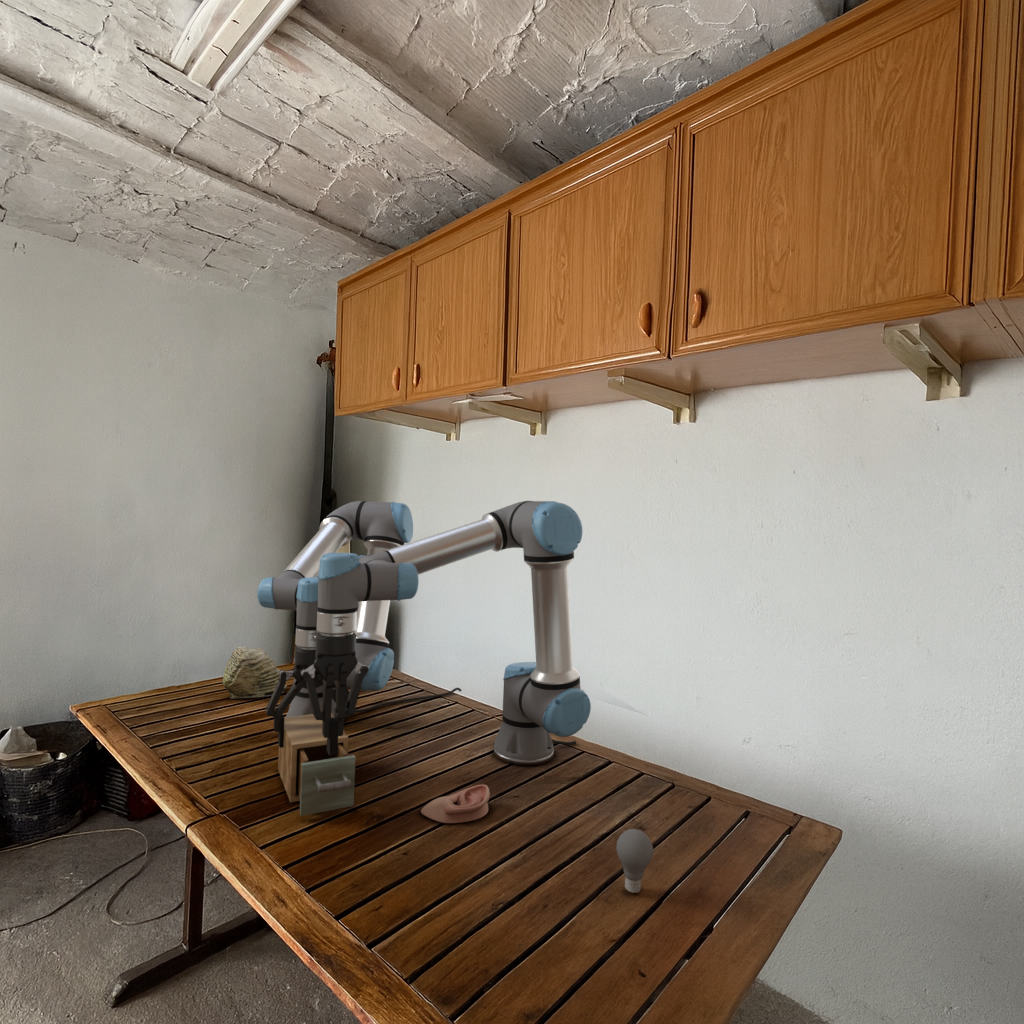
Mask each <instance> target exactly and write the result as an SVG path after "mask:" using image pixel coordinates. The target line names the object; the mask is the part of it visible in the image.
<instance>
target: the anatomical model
mask: <svg viewBox="0 0 1024 1024" xmlns="http://www.w3.org/2000/svg"><path fill="white" fill-rule="evenodd" d="M490 795H491V792H490V788H489V786H488V785H487V784H477V785H473V786H470V787H468V788H464V789H462V790H460V791H457V792H455V793H452V794H450V795H445V796H440V797H437V798H435V799H433V800H431V801H430V802H428V803H426V804H425V805H424V806H423V807H422V808H421V809H420V813H421V814H422V815H423V816H425V817H426V818H428V819H430V820H433V821H435V822H439V823H441V824H458V823H459V824H460V823H467V822H471V821H476V820H478V819H482V818H483V817H485V816H486V815H487V814H488V813H489V804H488V802H489V800H490V797H491V796H490Z"/></svg>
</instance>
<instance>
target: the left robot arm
mask: <svg viewBox="0 0 1024 1024" xmlns="http://www.w3.org/2000/svg"><path fill="white" fill-rule="evenodd" d="M413 521H414V519H413V516H412V512H411V509H410V507H409V506H408V505H407V504H405V503H402V502H395V501H371V500H370V501H369V500H367V501H366V500H355V501H351V502H348V503H345V504H343V505H342V506H340V507H338V508H336V509H334V510H333V511H332V512H330V513H329V514H328V515H327V516H326V517H324V519H323V520H322V521H321V522H320V524H319V529H318V531H317V532H316V534H315V535H314V536H313V537H311V539H310V540H309V542H307V544H306V545H305V546H304V547H303V548H302V549H301V551H300V552H298V554H297V555H296V556H295V557H294V559H293V560H292V561H291V562H290V563H289V564H288V566H287V567H286V568H285V569H284V570H283V571H282V572H281V573H280V575H279V576H278V577H275V576H271V577H266V578H263V579H261V581H260V583H259V585H258V587H257V594H256V595H257V600H258V603H259V605H260V606H261V607H263V608H267V609H273V610H276V611H277V610H285V611H296V621H295V622H296V624H295V640H294V641H295V643H294V645H295V646H296V647H295V649H294V659H293V661H294V666H293V669H292V670H284V669H279V670H280V671H279V680H278V683H277V685H276V687H275V689H274V692H273V694H272V696H270V699H269V701H268V703H267V706H266V707H265V714H266V716H267V717H273V730H274V732H275V733H277V734H278V735H277V744H278V748H279V747H280V748H281V747H283V744H284V718H285V717H293V716H302V715H310V714H313V712H312V708H311V703H310V698H309V694H308V689H307V685H306V681H305V679H304V678H303V676H302V675H301V673H300V672H301V670H302V669H307V668H309V667H310V666H311V665H313V660H314V658H315V655H316V636H317V634H318V633H319V632H318V631H317V611H318V575H319V565H320V558H321V557H322V556H323V555H324V554H327V553H338V551H339V550H340V548H341V547H345V546H346V545H347V544H349V543H350V542H351V541H356V540H357V541H358V540H359V541H363V545H364V547H365V549H367V554H366V555H374V554H377V553H380V552H384V551H387V550H390V549H393V548H396V547H399V546H402V545H405V544H408V543H411V541H412V539H413V535H414V522H413ZM390 606H391V600H380V601H358V604H357V628H356V631H354V633H355V634H356V657H357V659H358V662H359V663H361V664H364V665H366V666H367V667H368V669H369V671H368V672H367V674H366V675H365V677H364V679H363V682H362V685H361V689H360V691H362V692H379V691H381V690H382V689H384V687H385V686H386V685H387V684H388V682H389V680H390V677H391V675H392V673H393V670H394V663H395V652H394V650H393V649H391V648H390V641H389V639H387V637H386V632H387V631H386V630H387V625H388V618H389V611H390ZM354 670H355V668H354V669H353V671H352V672H351V673H350V675H349V676H348V677H347V683H346V693H345V707H346V703H347V700H348V696H349V692H350V689H351V685H352V682H353V678H354V675H355V672H354ZM314 673H315V677H314V678H313V681H314V683H315V687H316V692H317V697H318V701H319V706H320V710H321V712H322V708H323V679H322V677H321V676H320V675H319V673H318V672H317V671H316V670H315V672H314ZM291 677H293V684H292V685H291V687H290V689H289V690H288V691H287V693H286V694H285V695H284V697H283V698H282V700H281V701H280V703H279V700H280V698H281V696H282V694H283V693H282V691H283V689H284V687H285V684H286V685H287V682H288V681H289V680H290V678H291ZM336 689H337V682H336V680H335V681H333V687H332V709H331V713H332V714H333V716H334V717H336ZM456 691H458V692H462V691H463V690H462V689H461V688H460V687H454V688H453V689H451V690H450V691H446V692H443V693H438V694H432V695H426V696H425V695H424V696H417V697H410V698H402V699H396V700H390V701H386V702H381V703H378V704H377V703H376V704H374V705H372V706H369V707H366V708H360V709H355V711H354V713H363V712H367V711H371V710H373V709H377V708H379V707H382V706H387V705H392V704H398V703H404V702H411V701H420V700H426V699H433V698H439V697H440V698H441V697H445V696H449V695H452V694H453V693H455V692H456ZM278 703H279V704H278ZM288 707H289V708H288ZM287 709H288V711H287ZM285 711H287V713H286V715H285V716H284V713H285Z"/></svg>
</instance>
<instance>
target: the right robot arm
mask: <svg viewBox="0 0 1024 1024" xmlns="http://www.w3.org/2000/svg"><path fill="white" fill-rule="evenodd" d="M582 538H583V524H582V521H581V518H580V516H579V515H578V513H577V511H575V510H574V508H572V507H571V506H570V505H568V504H566V503H562V502H557V501H555V500H524V501H519V502H515V503H512V504H510V505H506V506H504V507H501V508H499V509H496V510H493V511H490V512H487V513H485V514H483V515H482V517H481V519H479V520H476V521H472V522H470V523H467V524H464V525H461V526H458V527H454V528H452V529H448V530H445V531H442V532H439V533H436V534H433V535H430V536H427V537H424V538H420V539H417V540H415V541H412V542H411V541H410V542H408V543H404V545H402V546H399V547H396V548H393V549H390V550H387V551H384V552H380V553H377V554H374V555H367V554H361V555H358V554H357V553H352V552H336V553H327V554H324V555H323V556H322V557H321V558H320V565H319V575H318V576H317V577H318V611H317V631H318V632H319V633H318V634H317V636H316V655H315V658H314V660H313V665H311V666H310V667H309V668H307V669H302V670H301V672H300V673H301V675H302V676H303V678H304V679H305V681H306V685H307V689H308V694H309V698H310V703H311V708H312V712H313V715H314V717H315V719H316V720H322V721H323V723H322V734H323V736H324V738H327V752H328V754H329V756H333V755H337V753H338V736H342V735H343V730H344V727H345V725H344V724H345V722H346V718H348V717H352V716H354V714H355V712H354V711H355V710H356V707H357V703H358V700H359V695H360V693H361V690H360V689H361V685H362V682H363V679H364V677H365V675H366V674H367V672H368V671H369V669H368V667H367V666H366V665H364V664H361V663H359V662H358V659H357V657H356V634H355V633H354V631H356V628H357V611H358V605H359V601H380V600H390V601H398V602H399V601H403V600H411V599H413V598H414V597H416V595H417V594H418V593H417V592H418V589H419V575H422V574H424V573H425V574H426V573H428V572H431V571H433V570H435V569H439V568H443V567H444V566H447V565H450V564H453V563H456V562H458V561H462V560H465V559H467V558H470V557H473V556H476V555H479V554H482V553H485V552H487V551H493V552H496V553H497V552H500V551H503V550H507V549H515V548H516V549H520V548H521V549H523V561H524V563H525V564H526V565H527V566H528V567H529V568H530V576H531V577H530V578H531V594H532V595H531V596H532V613H533V631H534V632H533V633H534V650H535V661H523V662H522V661H521V662H514V663H510V664H507V665H506V667H505V668H504V674H503V678H502V680H503V690H502V691H503V692H502V693H503V695H502V716H501V718H502V719H501V725H500V727H499V729H498V733H497V735H496V738H495V740H494V745H493V755H494V756H495V757H496V758H497V759H498V760H500V761H502V762H504V763H507V764H511V765H517V766H537V765H543V764H546V763H548V762H550V761H551V760H552V759H553V758H554V753H555V750H554V745H563V746H573V745H576V744H577V741H576V740H573V741H563V740H552V736H551V734H552V735H555V736H557V737H560V738H567V737H570V736H574V735H575V734H577V733H579V731H581V729H583V728H584V727H583V726H584V725H585V724H587V721H588V720H589V718H590V714H591V708H592V706H591V704H592V703H591V700H590V697H589V696H588V694H587V693H586V692H585V690H584V689H581V674H580V671H579V670H577V669H576V668H575V667H574V663H573V662H574V661H573V643H572V642H573V641H572V623H571V603H570V601H571V600H570V583H569V581H570V580H569V565H570V564H571V563H572V562H573V561H574V560H575V550H577V548H578V547H579V544H581V541H582ZM354 668H355V670H354V672H355V675H354V678H353V682H352V685H351V689H349V696H348V700H347V703H346V707H345V693H346V683H347V677H348V676H349V675H350V673H351V672H352V671H353V669H354ZM315 670H316V671H317V672H318V673H319V675H320V676H321V677H322V679H323V708H322V712H321V710H320V706H319V701H318V697H317V692H316V687H315V683H314V681H313V678H314V677H315V673H314V672H315ZM335 680H336V682H337V689H336V717H332V718H331V709H332V687H333V681H335ZM344 731H345V730H344Z"/></svg>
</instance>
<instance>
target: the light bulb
mask: <svg viewBox="0 0 1024 1024" xmlns="http://www.w3.org/2000/svg"><path fill="white" fill-rule="evenodd" d="M615 849H616V854H617V857H618V859H619V861H620V863H621V865H622V867H623V873H624V874H623V875H624V876H625V878H624V888H625V890H627V891H628V892H630V893H634V894H635V893H639V892H640V891H641V889H642V887H641V886H642V879H643V877H644V875H645V871H646V868H647V867H648V866H649V864H650V863H651V861H652V859H653V855H654V847H653V843H652V841H651V838H649V836H648V835H647V834H646V833H645V832H643V831H642V830H641V829H636V828H629V829H627V830H625V831H623V832H622V833H621V834H620V835H619V837H618V839H617V841H616V847H615Z"/></svg>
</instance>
